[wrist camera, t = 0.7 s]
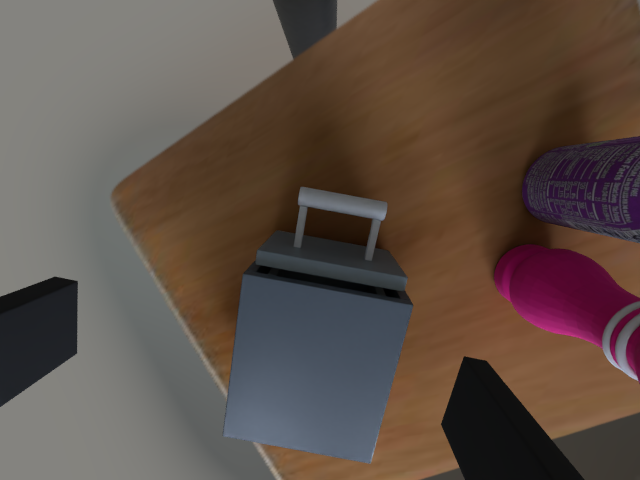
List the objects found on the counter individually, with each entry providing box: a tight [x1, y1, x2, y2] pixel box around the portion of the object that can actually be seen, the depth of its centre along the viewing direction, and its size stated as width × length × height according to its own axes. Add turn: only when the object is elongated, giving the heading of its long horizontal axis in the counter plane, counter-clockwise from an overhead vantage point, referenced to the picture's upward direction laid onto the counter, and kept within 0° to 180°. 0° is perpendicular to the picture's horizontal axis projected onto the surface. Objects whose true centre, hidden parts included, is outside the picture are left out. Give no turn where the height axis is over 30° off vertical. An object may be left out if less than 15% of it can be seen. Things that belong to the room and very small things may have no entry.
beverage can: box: [522, 136, 640, 243], centre depth 22 cm, size 7×7×12 cm
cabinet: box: [223, 260, 413, 463], centre depth 28 cm, size 15×13×10 cm
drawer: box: [255, 187, 408, 296], centre depth 27 cm, size 18×11×8 cm, turn 170°
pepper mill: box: [494, 244, 640, 383], centre depth 21 cm, size 7×7×20 cm
